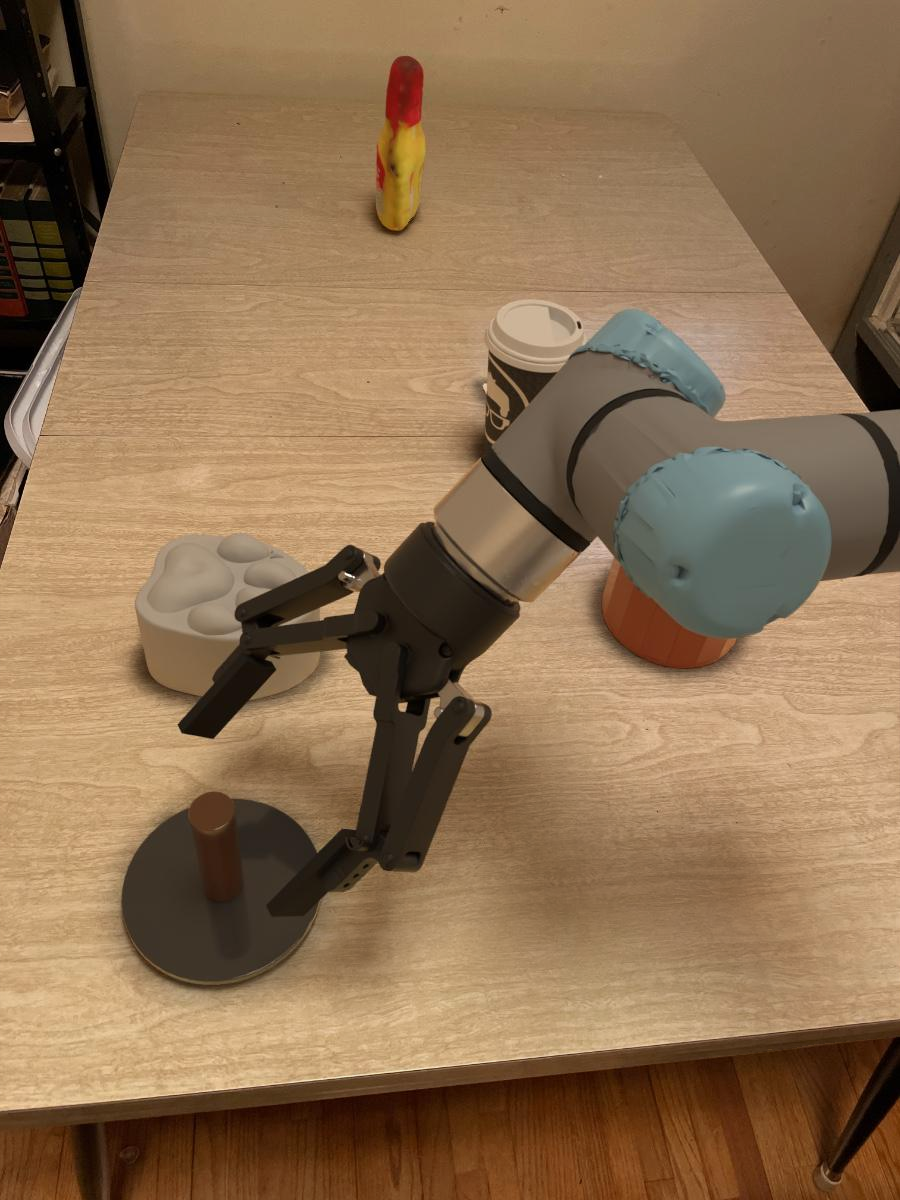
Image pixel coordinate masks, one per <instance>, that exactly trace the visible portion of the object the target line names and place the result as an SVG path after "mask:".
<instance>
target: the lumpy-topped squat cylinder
mask: <svg viewBox="0 0 900 1200" xmlns="http://www.w3.org/2000/svg"><path fill="white" fill-rule="evenodd" d="M309 572H310V571H309V570H308V569H307V568H306V566H304V565H303V564H302V563H301V562H300V561H298V560H297V559H296V558H294V557H293V556H291V555H290V554H288V553H286V552H285V551H283V550H281V549H280V548H278V547H276V546H273V545H270V544H267V543H263V542H262V541H261V540H260V539H258V538H257V537H255V536H254V535H251V534H249V533H245V532H244V533H243V532H238V533H237V532H236V533H232V534H229V535H227V536H220V535H212V534H188V535H182V536H180V537H177V538H175V539H172V540H170V541H168V542H167V543H165V544H164V545H163V546H162V547H160V549H159V550H158V552H157V554H156V557H155V559H154V564H153V569H152V571H151V574H150V575H149V577H148V578H147V580H146V582H145V583H144V584H143V586H141V588H139V591H138V592H137V594H136V596H135V599H134V609H135V613H136V619H137V624H138V629H139V633H140V639H141V642H142V648H143V652H144V657H145V662H146V666H147V670H148V672H149V675H150V677H152V679H153V680H154V681H156V682H157V683H158V684H160V685H161V686H163V687H165V688H168V689H171V690H174V691H176V692H177V691H178V692H180V693H185V694H189V695H193V696H197V697H202V696H203V695H204V694H205V693H206V692H207V691H208V690H209V689H210V688H211V686H212V685H213V684H214V682H213V680H212V677H213V675H214V673H215V671H216V670H217V669H218V668H219V667H220V666H221V665H222V663H223V662H224V661H226V659H227V658H228V657H229V655H230V654H231V653H232V652H233V651H234V650H235V649H236V648H237V646H238V645H239V644H240V642H239V640H240V636H241V635H242V633H243V631H242V626H241V622H238V621H237V620H236V619H235V616H234V614H235V610H236V608H237V606H238V605H240V604H241V603H243V602H246V601H248V600H250V599H252V598H254V597H257V596H259V595H261V594H263V593H265V592H268V591H270V590H272V589H274V588H276V587H278V586H281V585H283V584H285V583H287V582H289V581H292V580H294V579H296V578H298V577H300V576H303V575H305V574H307V573H309ZM320 610H321V608H318V609H316V610H314V611H311V612H309V613H307V614H304V615H302V616H300V617H298V618H295V619H293V620H291V621H288V622H286V623H284V624H281V625H279V626H282V625H290V624H298V623H305V622H313V621H321V620H320V619H321V616H320V614H321V613H320V612H321V611H320ZM277 657H280V659H277V658H273V657H270V656H268V657H267V658H266V659H265V660H268V661H272V663H273V665H274V666H275V668H276V671H275V672H274V673H273V674H272V675H271V677H270V678H269V679H268V680H267V681H266V682H265V683H264V684H263V685H262V686H261V688H260V689H259V690H258V691H257V692H256V693H255V694H254V695H253V696H252V697H251V698H250V700H249V701H254V700H259V699H262V698H267V697H270V696H275V695H278V694H281V693H283V692H286V691H288V690H290V689H292V688H294V687H296V686H297V685H299V684H301V683H302V682H304V681H306V679H308V678H309V677H310V676H311V675H312V674H313V673H314V672H315V670H316V669H317V667H318V665H319V663H320V657H321V652H313V653H304V654H294V655H285V656H277Z"/></svg>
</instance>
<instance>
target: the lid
mask: <svg viewBox="0 0 900 1200" xmlns="http://www.w3.org/2000/svg"><path fill="white" fill-rule="evenodd" d="M317 853H318V851H317V849H316V846H315V844H314V843H313V841H312V838H311V837H310V836H309V834H308V832H306V830H305V828H303V826H301V825H300V824H299V823H298V822H297V821H296V820H295V819H294V818H293V817H291V816H290V815H288V814H287V813H286V812H284V811H283V810H280V809H278V808H276V807H275V806H272V805H270V804H267V803H264V802H262V801H257V800H253V799H246V798H231V797H230V796H229V795H227V794H226V793H223V792H221V791H208V792H205V793H201V794H199V795H198V796H197V797H195V799H194V800H193V801H192V802H191V804H190V806H189V807H187V808H185V809H183V810H181V811H179V812H177V813H175V814H174V815H172V816H170V817H168V818H167V819H166V820H164V821H163V822H162V823H160V824H159V825H157V826H156V827H155V829H154V830H153V831H152V832H150V833H149V834H148V836H147V837H146V838H145V839H144V840H143V841H142V843H141V844H140V845H139V846H138V848H137V850H136V851H135V853H134V854H133V856H132V858H131V860H130V862H129V864H128V866H127V869H126V872H125V875H124V878H123V883H122V888H121V912H122V918H123V921H124V925H125V928H126V932H127V933H128V936H129V938H130V941H131V942H132V944H133V945H134V948H136V950H137V951H138V952H139V954H140V955H141V956H142V957H143V958H144V960H146V961H147V962H148V963H149V964H150V965H151V966H152V967H154V968H155V969H157V970H158V971H160V972H162V973H163V974H165V975H167V976H169V977H171V978H174V979H175V980H178V981H182V982H185V983H189V984H195V985H205V986H221V985H226V984H227V985H229V984H234V983H238V982H242V981H245V980H248V979H251V978H253V977H256V976H258V975H261V974H262V973H265V972H267V971H268V970H270V969H272V968H273V967H275V966H276V965H277V964H279V963H281V962H282V961H283V960H284V959H286V958H287V957H288V956H289V955H290V954H292V952H293V951H294V950H296V948H297V947H298V946H299V945H300V943H301V942H302V941H303V940H304V938H305V937H306V935H307V934H308V932H309V931H310V929H311V928H312V925H313V923H314V921H315V919H316V917H317V914H318V911H319V908H320V903H321V900H320V901H319V902H318V903H317V904H316V905H315V906H314V907H313V908H312V909H311V910H310V911H309V912H308V913H307V914H306V915H305V916H287V917H271V915H270V913H269V911H268V909H267V907H266V905H267V904H268V903H269V902H270V901H271V900H272V899H273V898H274V897H275V896H276V895H277V894H278V893H279V892H280V891H281V890H282V889H283V888H284V887H285V886H286V884H287V883H288V882H289V881H290V880H291V879H292V878H293V877H294V876H295V875H296V874H297V873H298V872H299V871H300V870H301V869H302V868H303V867H304V866H305V865H306V864H307V863H308V862H309V861H310V860H311V859H312V858H313V857H314V856H315V855H316V854H317Z"/></svg>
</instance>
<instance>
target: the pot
mask: <svg viewBox="0 0 900 1200" xmlns="http://www.w3.org/2000/svg"><path fill="white" fill-rule="evenodd" d="M601 612H602V616H603V619H604V622H605V624H606V626H607V628H608V630H609V631H610V633H611V634H612V635H613V637H614V638H615V639H616V640H617V641H618V642H619V644H621V645H622V646H623V647H625V649H627V650H628V651H630V652H631V653H633V654H634V655H636V656H637V657H639V658H642V659H644V660H645V661H648V662H651V663H654V664H656V665H659V666H664V667H667V668H676V669H695V668H701V667H706V666H709V665H711V664H714V663H715V662H717V661H719V660H720V659H723V657H725V655H726V654H728V652H730V650H731V648H733V647H734V646H735V643H736V642H737V639H738V638H734V639H719V638H710V637H706V636H702V635H699V634H696V633H694V632H692V631H690V630H688V629H686V628H684V627H682V626H681V625H680V624H678V623H677V622H676V621H675V620H674V619H673V618H672V617H671V616H670V615H669V614H668V613H667V612H666V611H665V610H663V609H662V608H661V607H660V606H659V605H658V604H657V603H656V602H655V601H654V600H653V599H652V598H648V597H647V596H646V594H644V593H642V592H640V591H639V589H638V588H637V587H636V586H635V585H634V583H633V582H632V580H630V579H629V577H627V576H626V574H625V571H624V569H623V568H622V566H621V565H620V563H619V562H618V561H617V560H616V558H615V557H614V556H613V560H612V563H611V566H610V569H609V573H608V576H607V579H606V582H605V585H604V589H603V592H602V595H601Z"/></svg>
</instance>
